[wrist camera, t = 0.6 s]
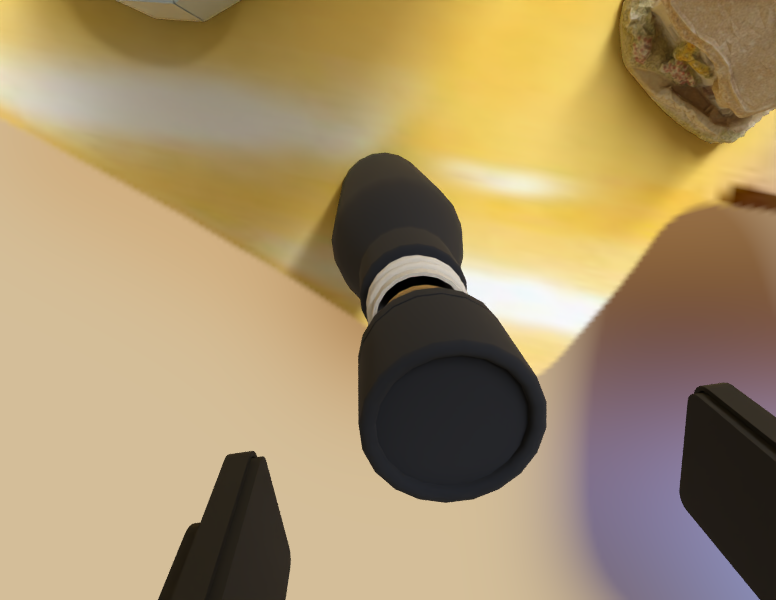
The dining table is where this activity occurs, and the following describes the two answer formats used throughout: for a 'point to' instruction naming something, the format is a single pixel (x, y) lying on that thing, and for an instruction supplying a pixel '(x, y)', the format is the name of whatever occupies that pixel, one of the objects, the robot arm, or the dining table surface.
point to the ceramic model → (704, 61)
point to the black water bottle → (429, 344)
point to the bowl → (180, 8)
